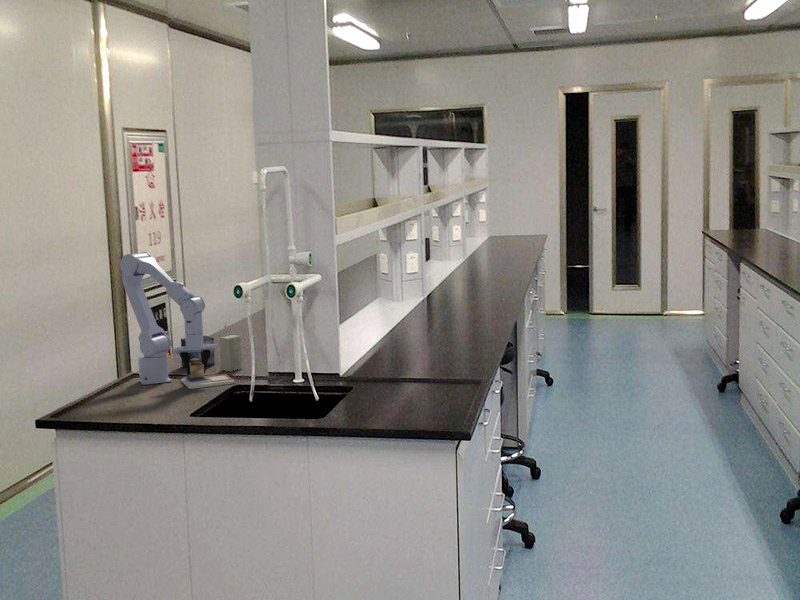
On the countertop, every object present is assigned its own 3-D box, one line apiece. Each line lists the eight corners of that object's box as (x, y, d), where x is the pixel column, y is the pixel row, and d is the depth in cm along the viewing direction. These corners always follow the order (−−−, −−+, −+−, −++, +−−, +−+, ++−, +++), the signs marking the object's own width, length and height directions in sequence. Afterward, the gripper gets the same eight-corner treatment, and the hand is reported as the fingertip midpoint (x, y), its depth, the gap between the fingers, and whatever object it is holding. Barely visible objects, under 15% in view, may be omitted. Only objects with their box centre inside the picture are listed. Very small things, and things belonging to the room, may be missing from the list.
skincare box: (234, 367, 311) (233, 334, 309) (242, 368, 308) (241, 335, 306) (220, 370, 306) (219, 337, 304) (228, 372, 303) (227, 338, 302)
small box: (189, 369, 309) (187, 341, 307) (181, 366, 314) (179, 338, 312) (215, 365, 315) (214, 337, 314) (207, 362, 320) (206, 335, 319)
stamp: (191, 379, 283) (190, 361, 282) (188, 377, 287) (187, 358, 286) (204, 378, 285) (203, 359, 284) (201, 375, 288) (200, 357, 288)
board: (189, 388, 279) (189, 382, 278) (181, 381, 289) (181, 375, 289) (234, 383, 285) (234, 377, 285) (225, 376, 296) (225, 370, 296)
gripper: (174, 337, 277) (176, 378, 278) (218, 333, 283) (220, 373, 285) (169, 333, 283) (172, 374, 285) (213, 329, 289) (215, 369, 291)
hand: (196, 373), depth 285 cm, fingers closed on stamp, 4 cm apart
